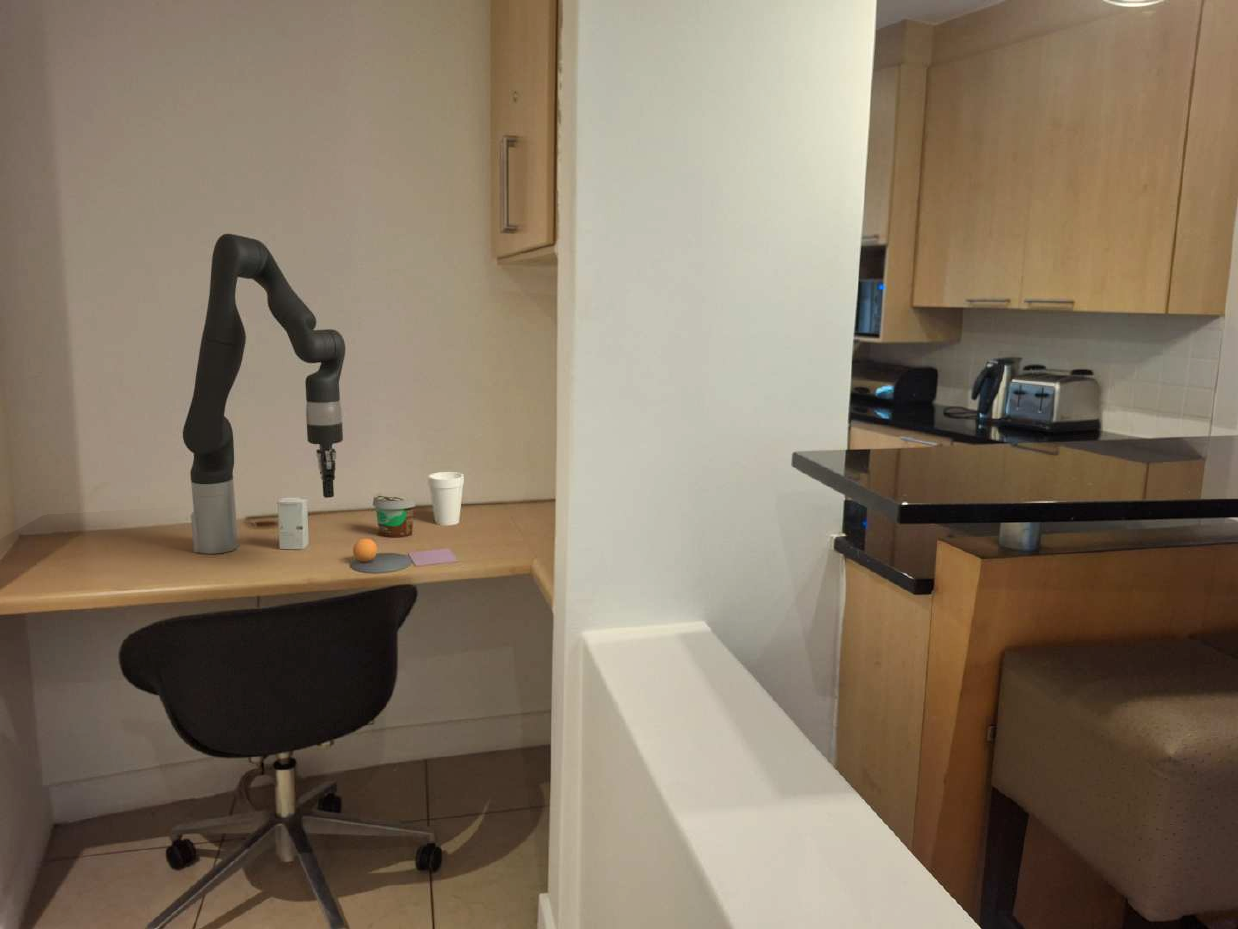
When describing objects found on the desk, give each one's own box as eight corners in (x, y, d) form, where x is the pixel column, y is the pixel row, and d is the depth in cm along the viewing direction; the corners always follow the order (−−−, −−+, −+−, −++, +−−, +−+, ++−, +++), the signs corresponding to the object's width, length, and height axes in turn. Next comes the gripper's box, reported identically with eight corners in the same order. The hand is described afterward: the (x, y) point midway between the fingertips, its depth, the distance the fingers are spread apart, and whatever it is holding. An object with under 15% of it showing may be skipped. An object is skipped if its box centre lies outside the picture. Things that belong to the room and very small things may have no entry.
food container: (363, 534, 229) (361, 497, 227) (380, 528, 235) (378, 492, 233) (400, 542, 224) (399, 503, 222) (416, 535, 229) (415, 498, 227)
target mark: (354, 576, 199) (354, 575, 199) (347, 557, 211) (347, 556, 211) (417, 569, 204) (417, 568, 204) (406, 551, 217) (406, 550, 217)
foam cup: (431, 517, 246) (430, 471, 243) (465, 517, 247) (464, 471, 244) (428, 527, 237) (426, 480, 234) (463, 526, 238) (462, 479, 235)
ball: (371, 531, 208) (385, 547, 210) (355, 537, 210) (370, 553, 213) (359, 547, 203) (375, 563, 206) (344, 552, 206) (359, 569, 208)
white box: (279, 549, 216) (275, 501, 214) (285, 544, 221) (281, 496, 218) (304, 549, 216) (301, 501, 214) (310, 544, 221) (307, 497, 218)
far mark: (415, 566, 206) (415, 565, 206) (408, 553, 215) (408, 552, 215) (458, 561, 210) (458, 560, 210) (449, 549, 219) (449, 548, 219)
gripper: (345, 424, 192) (349, 502, 195) (338, 415, 203) (342, 488, 207) (308, 426, 189) (313, 505, 192) (304, 416, 201) (308, 491, 204)
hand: (328, 496), depth 200 cm, fingers closed
